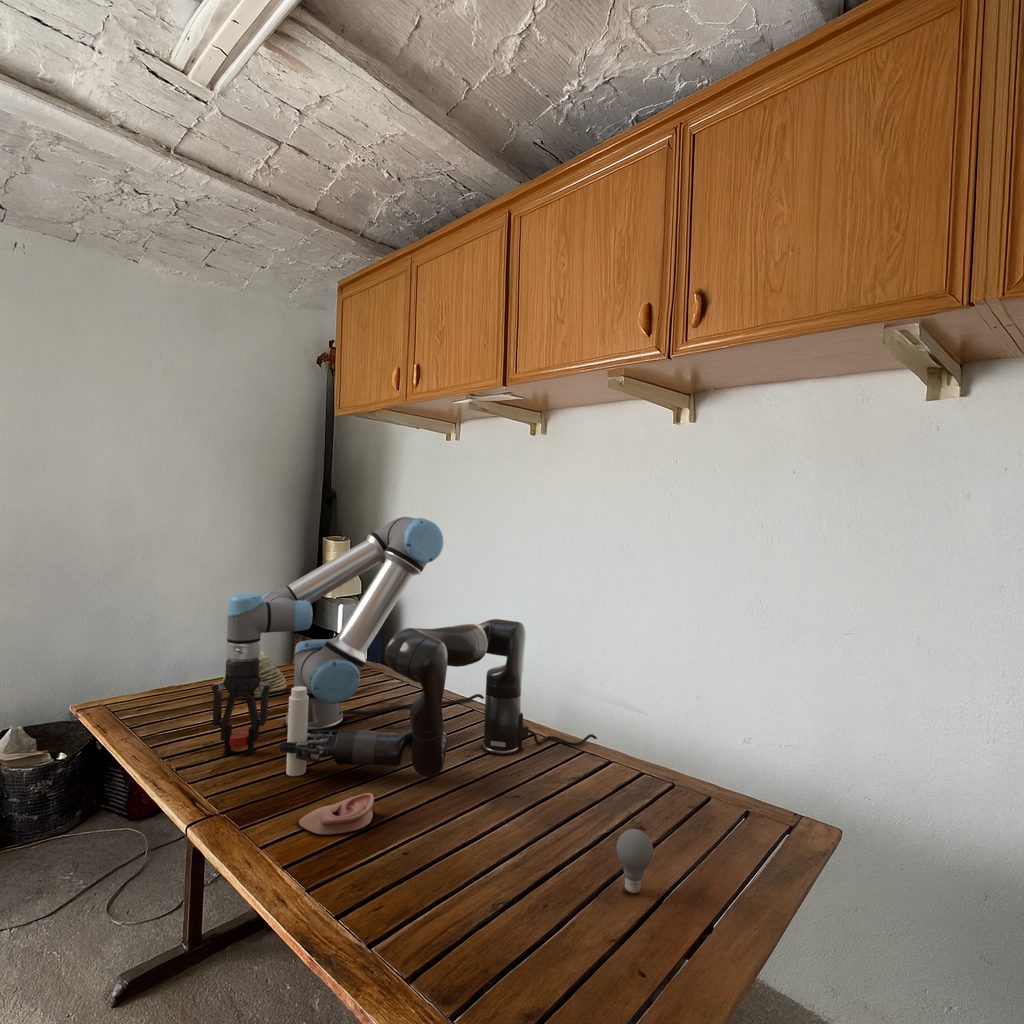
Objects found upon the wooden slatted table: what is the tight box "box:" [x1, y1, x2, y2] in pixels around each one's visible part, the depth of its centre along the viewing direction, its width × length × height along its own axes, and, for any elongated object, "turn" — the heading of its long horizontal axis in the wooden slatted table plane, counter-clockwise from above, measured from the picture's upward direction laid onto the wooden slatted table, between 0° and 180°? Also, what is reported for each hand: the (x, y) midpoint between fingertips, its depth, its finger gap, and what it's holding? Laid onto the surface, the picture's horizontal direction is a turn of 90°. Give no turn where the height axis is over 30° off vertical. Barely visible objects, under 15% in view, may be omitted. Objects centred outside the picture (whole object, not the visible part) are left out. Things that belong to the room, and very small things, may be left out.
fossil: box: [222, 647, 288, 699], centre depth 198 cm, size 9×18×15 cm, turn 132°
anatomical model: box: [298, 792, 375, 835], centre depth 124 cm, size 13×4×12 cm
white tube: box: [285, 686, 309, 777], centre depth 145 cm, size 4×4×19 cm
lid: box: [229, 730, 249, 748], centre depth 154 cm, size 5×5×2 cm
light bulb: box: [615, 828, 654, 894], centre depth 106 cm, size 6×6×10 cm
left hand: (239, 753), depth 154 cm, fingers closed on lid, 5 cm apart
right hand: (285, 742), depth 145 cm, fingers closed on white tube, 4 cm apart
